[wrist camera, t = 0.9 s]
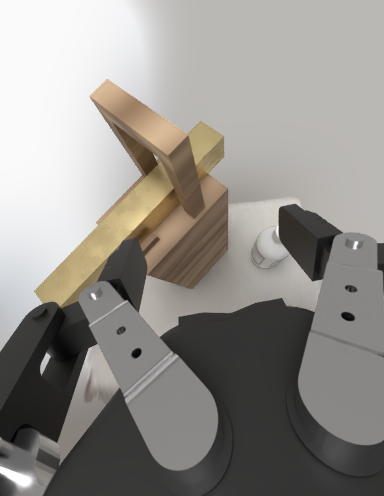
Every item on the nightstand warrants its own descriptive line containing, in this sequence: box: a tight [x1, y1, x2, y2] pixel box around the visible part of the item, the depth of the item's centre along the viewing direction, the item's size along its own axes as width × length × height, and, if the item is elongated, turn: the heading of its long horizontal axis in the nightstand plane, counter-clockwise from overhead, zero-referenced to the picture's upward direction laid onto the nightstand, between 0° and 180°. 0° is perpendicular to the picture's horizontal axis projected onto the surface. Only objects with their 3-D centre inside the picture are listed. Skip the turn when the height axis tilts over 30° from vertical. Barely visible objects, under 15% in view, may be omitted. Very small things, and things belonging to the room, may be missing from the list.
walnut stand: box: [90, 79, 228, 289], centre depth 36 cm, size 10×14×44 cm
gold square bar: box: [34, 121, 224, 308], centre depth 24 cm, size 4×26×4 cm, turn 136°
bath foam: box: [251, 225, 290, 268], centre depth 45 cm, size 7×7×20 cm
